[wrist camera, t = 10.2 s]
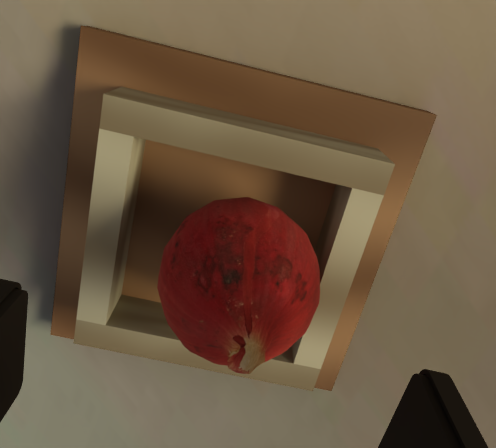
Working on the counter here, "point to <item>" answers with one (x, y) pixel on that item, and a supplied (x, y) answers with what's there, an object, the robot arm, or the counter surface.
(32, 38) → the counter surface
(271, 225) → the onion
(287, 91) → the holder
